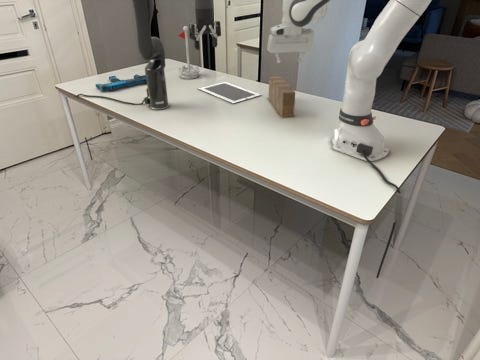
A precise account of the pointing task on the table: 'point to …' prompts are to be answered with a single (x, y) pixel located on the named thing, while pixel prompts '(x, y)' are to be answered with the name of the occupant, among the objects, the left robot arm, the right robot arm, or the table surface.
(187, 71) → the flag stand
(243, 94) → the tablet
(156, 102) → the left robot arm
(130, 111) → the table surface
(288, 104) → the box
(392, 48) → the right robot arm
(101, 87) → the submachine gun
